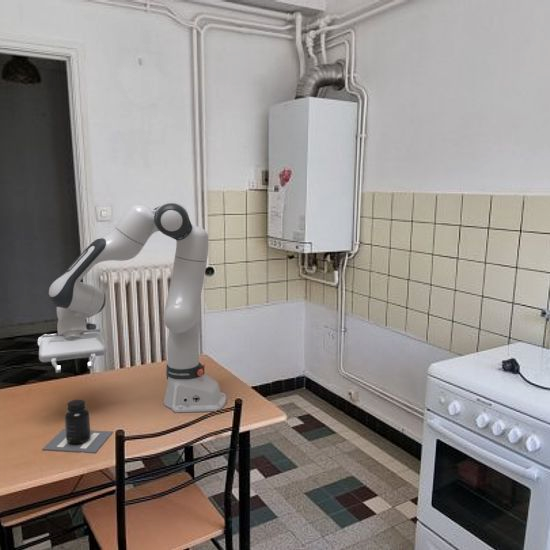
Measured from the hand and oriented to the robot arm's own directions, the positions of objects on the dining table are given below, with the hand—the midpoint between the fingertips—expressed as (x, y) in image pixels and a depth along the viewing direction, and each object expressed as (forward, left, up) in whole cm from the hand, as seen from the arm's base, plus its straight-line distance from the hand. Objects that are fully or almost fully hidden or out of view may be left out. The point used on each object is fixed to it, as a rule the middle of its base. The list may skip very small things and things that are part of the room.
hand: (74, 369), depth 150 cm
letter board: (-6, +11, -18) cm, 22 cm away
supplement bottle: (-6, +11, -18) cm, 22 cm away
